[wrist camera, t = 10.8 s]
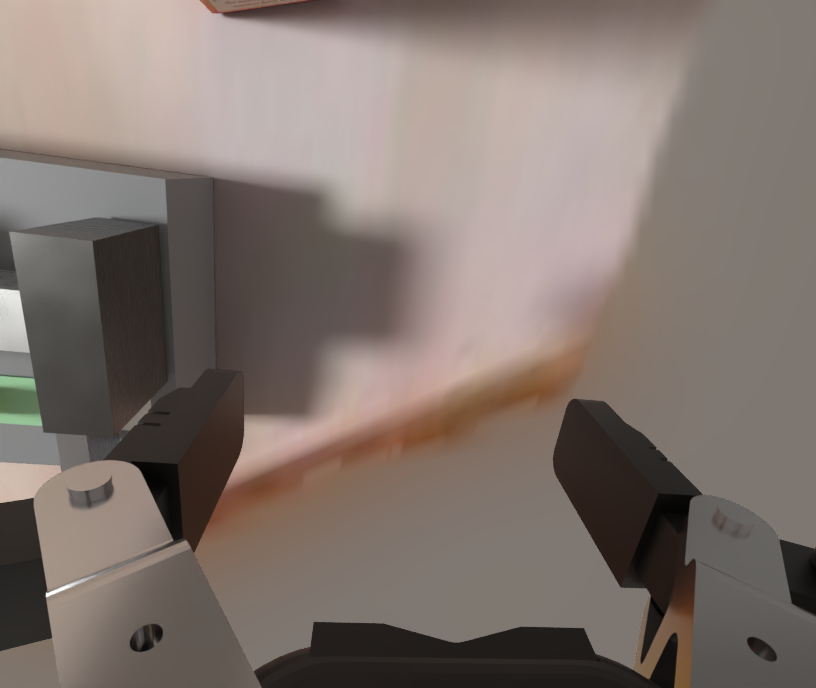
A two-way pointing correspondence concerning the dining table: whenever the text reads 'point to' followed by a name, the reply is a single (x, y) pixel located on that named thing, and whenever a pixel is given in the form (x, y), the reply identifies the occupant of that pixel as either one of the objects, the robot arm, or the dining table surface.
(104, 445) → the plunger
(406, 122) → the dining table surface
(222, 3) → the cracker box
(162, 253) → the gauge housing
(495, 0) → the dining table surface
